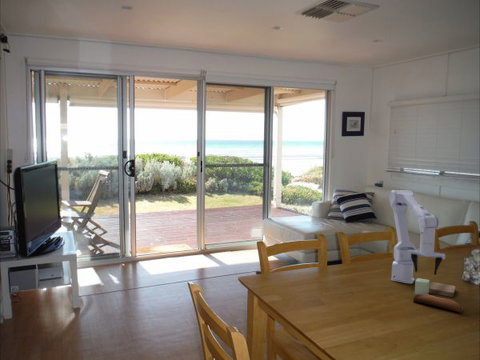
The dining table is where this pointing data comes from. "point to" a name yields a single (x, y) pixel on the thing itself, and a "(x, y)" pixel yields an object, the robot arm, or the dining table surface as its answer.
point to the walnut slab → (441, 289)
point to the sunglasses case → (438, 302)
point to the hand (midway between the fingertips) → (425, 272)
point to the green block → (421, 286)
